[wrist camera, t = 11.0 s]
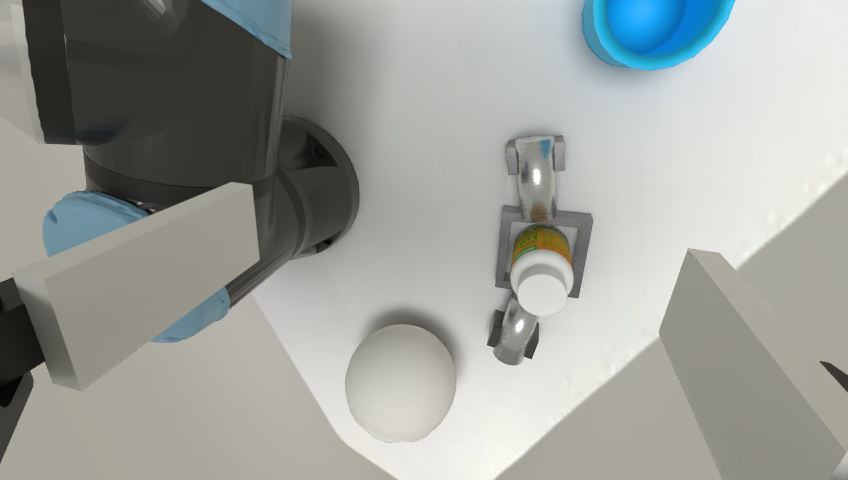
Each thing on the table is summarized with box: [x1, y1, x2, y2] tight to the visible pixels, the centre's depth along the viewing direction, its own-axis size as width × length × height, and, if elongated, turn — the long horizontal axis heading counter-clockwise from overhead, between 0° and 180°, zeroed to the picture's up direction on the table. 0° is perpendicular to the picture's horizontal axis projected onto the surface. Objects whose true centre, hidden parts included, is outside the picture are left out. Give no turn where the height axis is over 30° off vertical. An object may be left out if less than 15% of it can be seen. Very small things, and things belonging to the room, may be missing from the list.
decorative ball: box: [345, 324, 456, 443], centre depth 47 cm, size 12×12×12 cm
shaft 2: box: [487, 292, 539, 365], centre depth 45 cm, size 7×5×5 cm
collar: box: [495, 206, 593, 298], centre depth 43 cm, size 8×8×2 cm
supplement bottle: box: [510, 224, 574, 316], centre depth 39 cm, size 5×5×10 cm
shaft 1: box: [506, 135, 565, 223], centre depth 39 cm, size 7×5×5 cm
